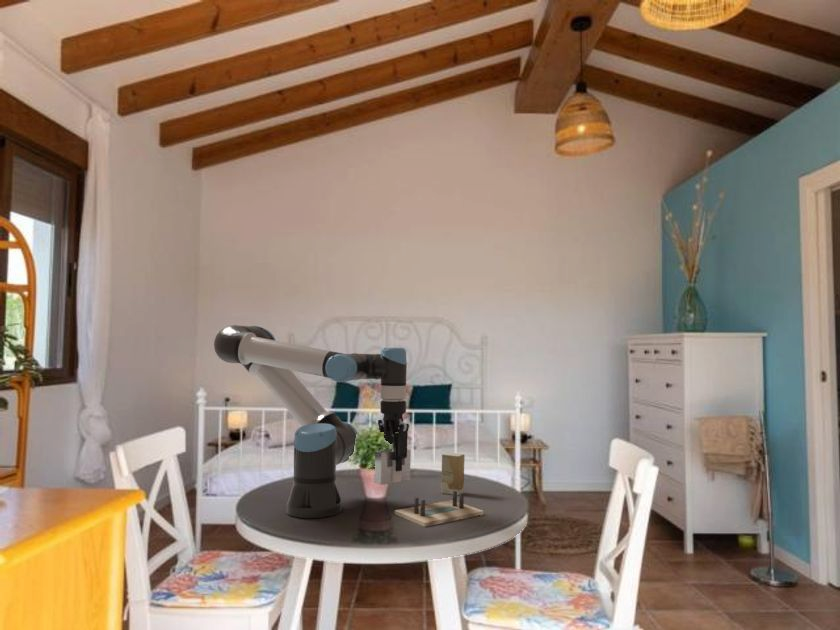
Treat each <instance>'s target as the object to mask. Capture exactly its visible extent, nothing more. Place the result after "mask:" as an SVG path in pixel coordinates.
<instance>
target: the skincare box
mask: <svg viewBox="0 0 840 630" xmlns="http://www.w3.org/2000/svg"><path fill="white" fill-rule="evenodd" d="M464 480H465V454H463V453H456V452H445V453H442V454H441V480H440V493H442V494H447V495H452V494H453V491H457V496H459V493H463V492H464V491H465V490H464V487H465V483H464ZM463 494H464V493H463Z"/></svg>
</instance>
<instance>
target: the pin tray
mask: <svg viewBox="0 0 840 630" xmlns="http://www.w3.org/2000/svg"><path fill="white" fill-rule="evenodd" d="M458 496H459V497H458ZM413 498H414V499H413V500H414V501H413V506H412V507H407V508H401V509H395V510H394V515H396V516H399V517H401V518H403V519H405V520H408V521H410V522H413V523H414V524H417V525H419V526H421V527H424V528H425V527H429V526H435V525H439V524H445V523H449V522H455V521H459V519H460V520H464V519H469V517H470V518H474V516H475V517H479V516H478V515H480V516H483V514H485V513H484V512H485V511H484V510H482V509H480V508H477V507H473V506H471V505H468V504H465V503H464V501H465V500H464V499H465V497H464V493H459V495H457V491H453V495H452V500H445V501H439V502H433V503H428V504H426V500H425V499H421V500H420V503H419V498H420V497H413ZM458 498H459V499H458ZM419 504H420V505H419Z"/></svg>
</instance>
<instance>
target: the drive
mask: <svg viewBox="0 0 840 630" xmlns="http://www.w3.org/2000/svg"><path fill="white" fill-rule="evenodd" d="M374 451H375V453H373V455H374V454H375V466H374V465H373V468H374V467H375V474H374V473H373V483H375V484H377V485H380V486H383V485H389V484H394V483H393V482H392V458H394V450H393V448H392V449H391V450H384V451H378V450H374ZM410 481H411V449H409V448H407V458H403V459H402V475H401V482H400V483H405V482H410ZM396 483H399V482H396ZM396 483H395V484H396Z"/></svg>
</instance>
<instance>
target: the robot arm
mask: <svg viewBox="0 0 840 630" xmlns="http://www.w3.org/2000/svg"><path fill="white" fill-rule="evenodd" d="M213 343H214V344H213V347H214V352H215V353H216V355H217V357H218V358H219V359H220V360H221V361H224V362H226V363H230V364H241V365H242V366H243V367H244V369H246V370H247V372H248V373H249V374H250V375H253V376H255V375H256V376H257V377H259V379H260V380H261V381H262V382H263V383H264V384H265V385H266V387H267V388H268V389H269V390H270V391H271V392H272V394H273V395H274V396H275V398H277V399H278V401H280V403H281V404H282V405H283V406H284V408H285V409H286V410H287V411H288V412H289V413H290V415H291V416H292V418H294V419H295V421H296V422H297V423H298V424H299V425H300V427H298V428H297V429H296V430H295V432H294V440H293V484H292V487H291V490H290V493H289V495H288V499H287V502H286V514H287V515H289V516H291V517H294V518H301V519H302V518H303V519H319V518H326V517H332V516H335V515H337V514H338V515H339V513H341V512H342V510H343V508H342V507H343V506H342V505H343V504H342V503H343V502H342V499H341V495H340V492H339V489H338V485H337V481H336V480H337V479H336V478H337V476H336V475H337V466H339V465H340V464H342V463H345V462H347V461H349V460H350V459H349V456H351V455H352V454H353V452H354V445H355V438H356V434H357V433H358V431H357V429H356V428H355V427H354V426H353V425H352V424H351V423H349V422H346V421H342V420H341V418H340V417H339V416H338V415H337V414H336V413H335V412H334V411H327V410H326V409H325V408H324V407H323V405H322V404H321V403H320V402H319V401H318V400H317V399H316V398H315V396H313V394H312V393H311V392H310V391H309V390H308V389H307V387H306V386H305V385H304V384H303V382H302V381H300V379H299V378H298V377H297V376H296V375H295V373H293V371H294V372H297V373H298V372H299V373H303V374H309V375H314V376H318V377H323V378H328V379H330V380H332V381H335V382H338V383H346V382H351V381H356V380H357V381H358V380H380V399H381V401H380V410H379V411H380V413H381V414H383V418H382V419H378V420H377V424H378V431H379V430H380V432H384V434H385V435H384V438H385V440H386V441H388V442H389V443H390V444H392V449H393V450H394V458H392V482H393V483H392V484H396V482H398V483H402V482H401V475H402V459H403V458H407V449H408V438H409V437H408V433H409V428H410V424H409V423H405V422H404V418H403V415H404V414H406V413H407V402H406V399H407V366H408V362H407V350H406V349H405V348H403V347H382V348H381V352H380V353H377V354H376V353H375V354H374V353H371V354H370V353H354V352H353V353H343V352H337V351H331V350H326V349H321V348H316V347H310V346H306V345H300V344H294V343H289V342H284V341H280V340H276V338H275V335H273V333H272V332H271V331H270V330H269V329H267V328H264V327H261V326H257V325H250V326H249V325H237V324H233V325H227V326H225V327H224V328H222V329H220V330H219V331H218V332H217V334H216V336H215V338H214V340H213Z"/></svg>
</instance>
